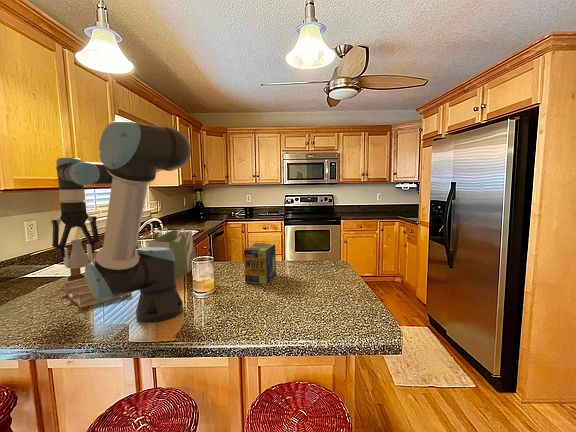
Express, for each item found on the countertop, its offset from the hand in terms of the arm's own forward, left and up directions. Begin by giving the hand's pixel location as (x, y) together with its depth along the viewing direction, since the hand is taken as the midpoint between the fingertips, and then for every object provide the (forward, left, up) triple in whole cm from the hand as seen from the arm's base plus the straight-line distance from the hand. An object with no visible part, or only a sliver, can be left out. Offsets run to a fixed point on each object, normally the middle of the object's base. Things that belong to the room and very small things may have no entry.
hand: (78, 263), depth 112 cm
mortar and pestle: (+39, -7, -17) cm, 43 cm away
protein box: (-29, -64, -17) cm, 72 cm away
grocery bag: (+14, -44, -17) cm, 49 cm away
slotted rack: (+10, -8, -16) cm, 21 cm away
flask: (0, 0, -1) cm, 1 cm away
